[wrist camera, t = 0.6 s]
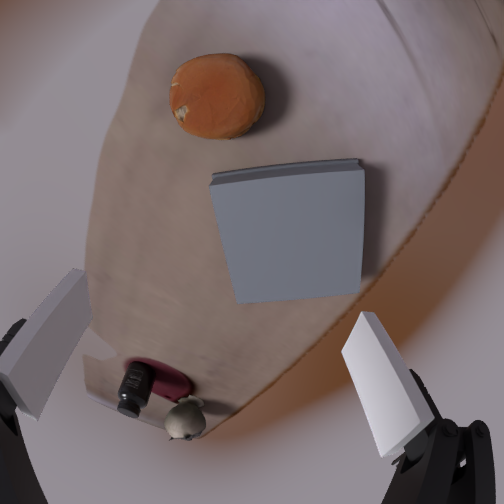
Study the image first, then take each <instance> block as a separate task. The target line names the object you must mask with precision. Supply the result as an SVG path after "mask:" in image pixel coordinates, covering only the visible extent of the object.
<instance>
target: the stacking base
mask: <svg viewBox="0 0 504 504" xmlns="http://www.w3.org/2000/svg"><path fill="white" fill-rule="evenodd" d="M212 179H213V181H212V182H211V184H210V185H209V189H210V194H211V198H212V203H213V207H214V211H215V216H216V220H217V224H218V228H219V233H220V237H221V241H222V245H223V249H224V253H225V257H226V261H227V266H228V270H229V274H230V278H231V282H232V286H233V289H234V293H235V297H236V301H237V304H243V303H258V302H271V301H284V300H295V299H306V298H317V297H326V296H336V295H345V294H353V293H359V291H360V280H361V269H362V256H363V239H364V210H365V173H364V169H363V168H362V167H360V166H359V163H358V159H357V158H353V159H335V160H321V161H308V162H297V163H287V164H278V165H269V166H261V167H253V168H246V169H239V170H232V171H225V172H219V173H213V174H212Z"/></svg>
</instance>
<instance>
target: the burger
mask: <svg viewBox="0 0 504 504" xmlns="http://www.w3.org/2000/svg"><path fill="white" fill-rule="evenodd" d="M176 71H177V72H176V74H175V75H174V77H173V78H172V81H171V84H172V86H171V89H170V106H171V109H172V112H173V114H174V117H175V118H176V119H177V121H178V123H179V125H180V126H181V127H182V128H183V129H184V130H185V131H186V132H188V133H190V134H191V135H195V136H198V137H201V138H206V139H216V140H230V139H231V138H236V137H239V136H242V134H244V133H246V132H247V131H248V130H249V129H250V127H251V126H252V125H253V124H254V123H256V122H257V121H258V119H259V118H260V116H261V114H262V112H263V110H264V105H265V91H264V88H263V85H262V83H261V80H260V78H258V76H257V75H256V74H255V73H254V72H253V71H252V70H251V69H250V67H249V66H248V65H247V64H246V63H245V62H244V61H243V60H242V59H241V58H240V57H238V56H236V55H233V54H227V53H222V54H208V55H204V56H200V57H196V58H194V59H192V60H189V61H187V62H186V63H184V64H183V65H181V66H180V67H179V68H178V69H177V70H176Z"/></svg>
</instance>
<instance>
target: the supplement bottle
mask: <svg viewBox="0 0 504 504" xmlns="http://www.w3.org/2000/svg"><path fill="white" fill-rule="evenodd" d="M155 378H156V373H155V371H154V370H153V369H152V368H151V367H149V366H148V365H146V364H143V363H140V362H132V363H130V364H129V366H128V368H127V370H126V373H125V375H124V378H123V380H122V383H121V386H120V388H119V391H118V397H119V399H120V400H121V401H119V405H118V407H117V410H118V411H119V412H120V413H122V414H124V415H126V416H128V417H131V418H138V417H139V414H140V411H141V410H140V409H142V408H145V407H146V406H147V404H148V401H149V397H150V394H151V391H152V388H153V385H154V382H155Z"/></svg>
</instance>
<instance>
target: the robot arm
mask: <svg viewBox="0 0 504 504" xmlns="http://www.w3.org/2000/svg"><path fill="white" fill-rule="evenodd" d="M92 318H93V316H92V310H91V304H90V297H89V290H88V282H87V274H86V271H84V270H79V269H74V268H73V269H72V270H71V271H70V272H69V273H68V274H67V275H66V276H65V277H64V278H63V279H62V280H61V282H60V283H59V284H58V285H57V286H56V287H55V288H54V289H53V290H52V292H51V293H50V294H49V295H48V296H47V297H46V298H45V300H44V301H43V302H42V303H41V304H40V305H39V307H38V308H37V309H36V310H35V311H34V313H33V314H32V315H31V316H30V317H29V319H28V320H26V319H21V320H19V321H18V322H16V323H15V324H13V325H12V327H11V328H10V329H9V331H8V332H7V334H5V336H4V337H3V338H2V341H0V504H48V502H47V500H46V498H45V496H44V493H43V491H42V489H41V487H40V485H39V482H38V480H37V477H36V475H35V472H34V470H33V467H32V465H31V462H30V459H29V456H28V453H27V450H26V447H25V444H24V440H23V437H22V434H21V430H20V426H19V422H18V418H17V415H16V413H15V409H16V407H17V406H18V408H19V409H20V410H21V412H22V413H23V414H24V415H26V416H28V417H30V418H32V419H34V420H36V421H38V420H39V417H40V415H41V413H42V411H43V408H44V406H45V404H46V402H47V400H48V398H49V396H50V394H51V392H52V390H53V388H54V386H55V384H56V382H57V380H58V378H59V376H60V374H61V372H62V370H63V369H64V366H65V365H66V363H67V361H68V359H69V357H70V356H71V354H72V352H73V350H74V348H75V347H76V345H77V343H78V342H79V340H80V338H81V336H82V335H83V333H84V331H85V330H86V328H87V326H88V325H89V323H90V322H91V320H92ZM342 354H343V357H344V359H345V362H346V364H347V367H348V369H349V372H350V374H351V377H352V380H353V382H354V385H355V387H356V390H357V393H358V395H359V398H360V400H361V403H362V406H363V408H364V411H365V414H366V417H367V419H368V422H369V425H370V428H371V430H372V433H373V436H374V439H375V442H376V444H377V448H378V450H379V453H380V456H381V457H384V456H389V455H392V454H395V453H397V452H398V451H399V450H400V449H401V448H403V447H404V449H405V452H404V453H403V454H402V455H400V456H399V457H398V458H397V459H396V460H394V461H393V462H392V465H394V464H395V463H397V462H398V461H399V460H400V461H399V464H398V465H397V466H396V467H397V469H396V471H395V474H394V476H393V479H392V481H391V483H390V486H389V488H388V490H387V492H386V494H385V497H384V499H383V501H382V503H381V504H496V494H495V493H496V489H495V471H494V460H493V452H492V444H491V437H490V432H489V429H488V427H487V425H486V424H485V423H484V422H483V421H481V420H475V421H474V422H473V423H471V424H470V425H469V426H468V427H458V426H457V425H456V423H455V422H453V421H452V420H450V419H446V418H445V419H443V418H442V417H441V415H440V413H439V411H438V409H437V407H436V405H435V404H434V402H433V400H432V398H431V396H430V394H428V391H427V389H426V387H424V384H423V382H422V380H421V379H420V377H419V376H418V375H417V374H416V373H415V372H414V371H413V370H412V369H408V368H407V366H406V364H405V362H404V361H403V359H402V357H401V355H400V354H399V352H398V350H397V349H396V347H395V346H394V344H393V342H392V340H391V339H390V337H389V336H388V334H387V332H386V331H385V329H384V328H383V326H382V324H381V323H380V321H379V319H378V318H377V316H376V315H375V313H374V312H363V311H362V312H361V313H360V316H359V318H358V320H357V322H356V324H355V326H354V328H353V330H352V332H351V334H350V336H349V338H348V340H347V342H346V344H345V346H344V348H343V349H342ZM464 459H466V464H465V465H464V466H463V467H460V462H462V461H463V460H464Z"/></svg>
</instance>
